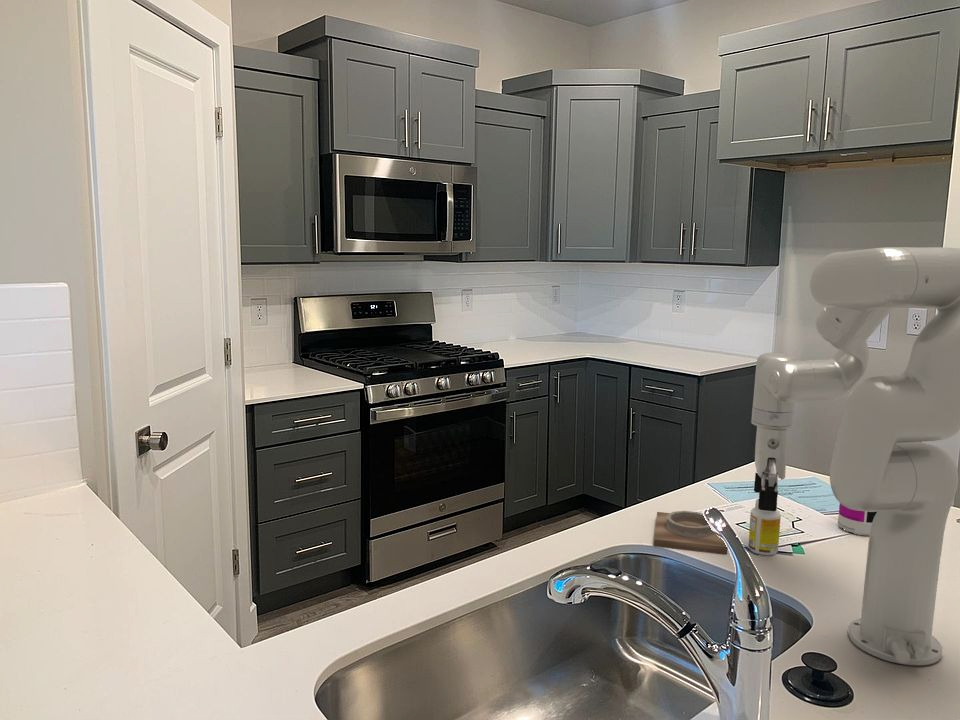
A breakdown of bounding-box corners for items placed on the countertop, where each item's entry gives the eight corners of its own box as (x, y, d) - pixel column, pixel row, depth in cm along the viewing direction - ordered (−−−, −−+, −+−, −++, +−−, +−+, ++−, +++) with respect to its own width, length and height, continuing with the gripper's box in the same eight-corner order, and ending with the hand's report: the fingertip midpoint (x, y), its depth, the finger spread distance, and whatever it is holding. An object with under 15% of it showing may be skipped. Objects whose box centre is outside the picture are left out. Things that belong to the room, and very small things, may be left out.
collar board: (726, 554, 149) (728, 537, 148) (653, 546, 152) (654, 529, 152) (723, 525, 164) (724, 509, 164) (656, 518, 168) (657, 503, 167)
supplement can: (842, 534, 160) (848, 465, 157) (834, 520, 168) (840, 455, 165) (884, 538, 158) (891, 469, 156) (874, 524, 166) (881, 458, 163)
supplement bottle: (783, 551, 151) (787, 502, 149) (768, 559, 147) (772, 508, 145) (757, 542, 155) (761, 494, 153) (742, 549, 151) (745, 500, 150)
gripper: (799, 430, 138) (790, 519, 141) (787, 408, 154) (779, 488, 157) (755, 427, 140) (747, 515, 143) (748, 405, 156) (741, 484, 159)
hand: (764, 501), depth 150 cm, fingers open, 9 cm apart
